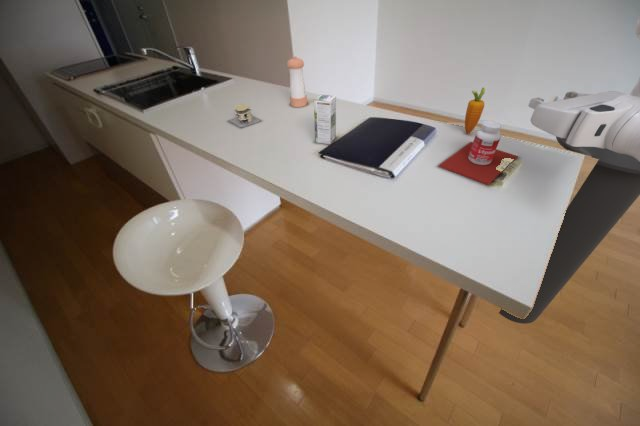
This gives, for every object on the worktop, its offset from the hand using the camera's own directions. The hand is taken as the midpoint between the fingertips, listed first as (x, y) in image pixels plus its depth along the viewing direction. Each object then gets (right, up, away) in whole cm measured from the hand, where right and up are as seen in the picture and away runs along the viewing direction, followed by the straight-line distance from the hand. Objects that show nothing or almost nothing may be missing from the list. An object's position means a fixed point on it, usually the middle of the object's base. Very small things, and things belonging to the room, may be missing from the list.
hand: (550, 98), depth 62 cm
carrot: (+1, +3, +38) cm, 38 cm away
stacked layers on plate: (-80, +13, +55) cm, 98 cm away
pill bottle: (-3, -9, +23) cm, 25 cm away
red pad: (-3, -10, +23) cm, 25 cm away
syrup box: (-47, +1, +39) cm, 61 cm away
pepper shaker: (-59, +24, +67) cm, 93 cm away
